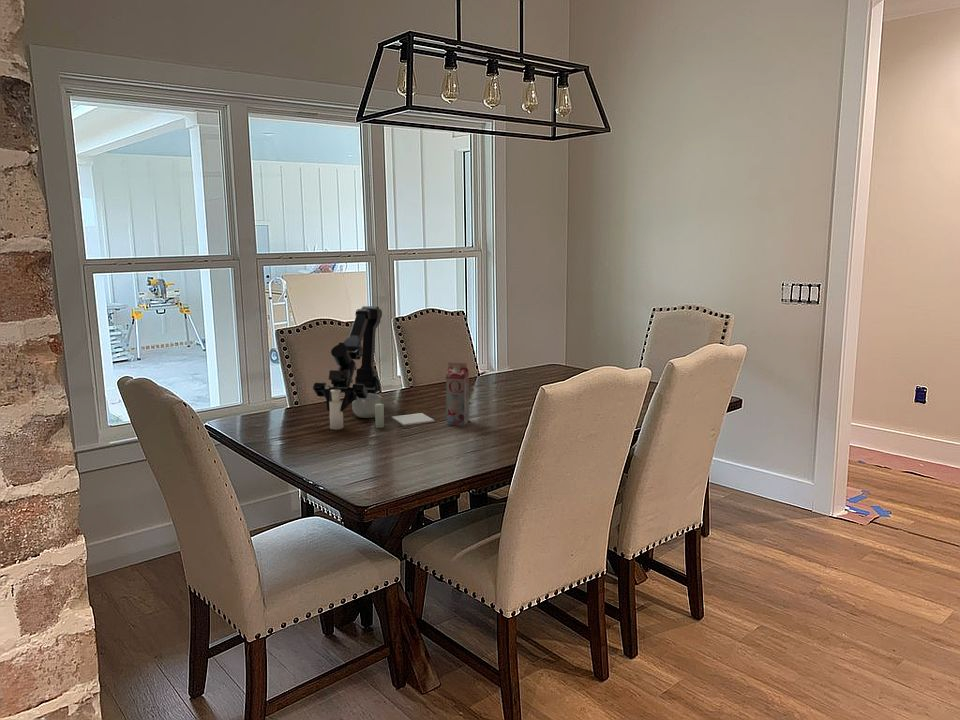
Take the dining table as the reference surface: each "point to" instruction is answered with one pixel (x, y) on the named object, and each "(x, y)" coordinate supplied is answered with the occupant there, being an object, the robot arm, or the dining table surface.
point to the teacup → (366, 405)
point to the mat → (412, 419)
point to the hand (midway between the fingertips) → (334, 410)
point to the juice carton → (457, 394)
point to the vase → (336, 410)
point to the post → (379, 415)
